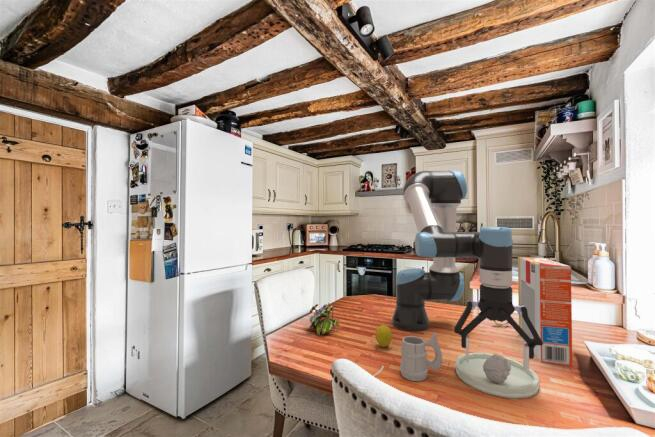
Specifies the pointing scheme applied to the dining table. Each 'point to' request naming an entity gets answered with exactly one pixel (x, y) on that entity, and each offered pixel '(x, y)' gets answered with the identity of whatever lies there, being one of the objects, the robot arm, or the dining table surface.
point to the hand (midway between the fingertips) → (495, 364)
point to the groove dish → (512, 387)
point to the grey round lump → (497, 368)
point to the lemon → (383, 335)
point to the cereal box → (547, 307)
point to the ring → (501, 324)
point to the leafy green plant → (327, 322)
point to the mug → (418, 357)
